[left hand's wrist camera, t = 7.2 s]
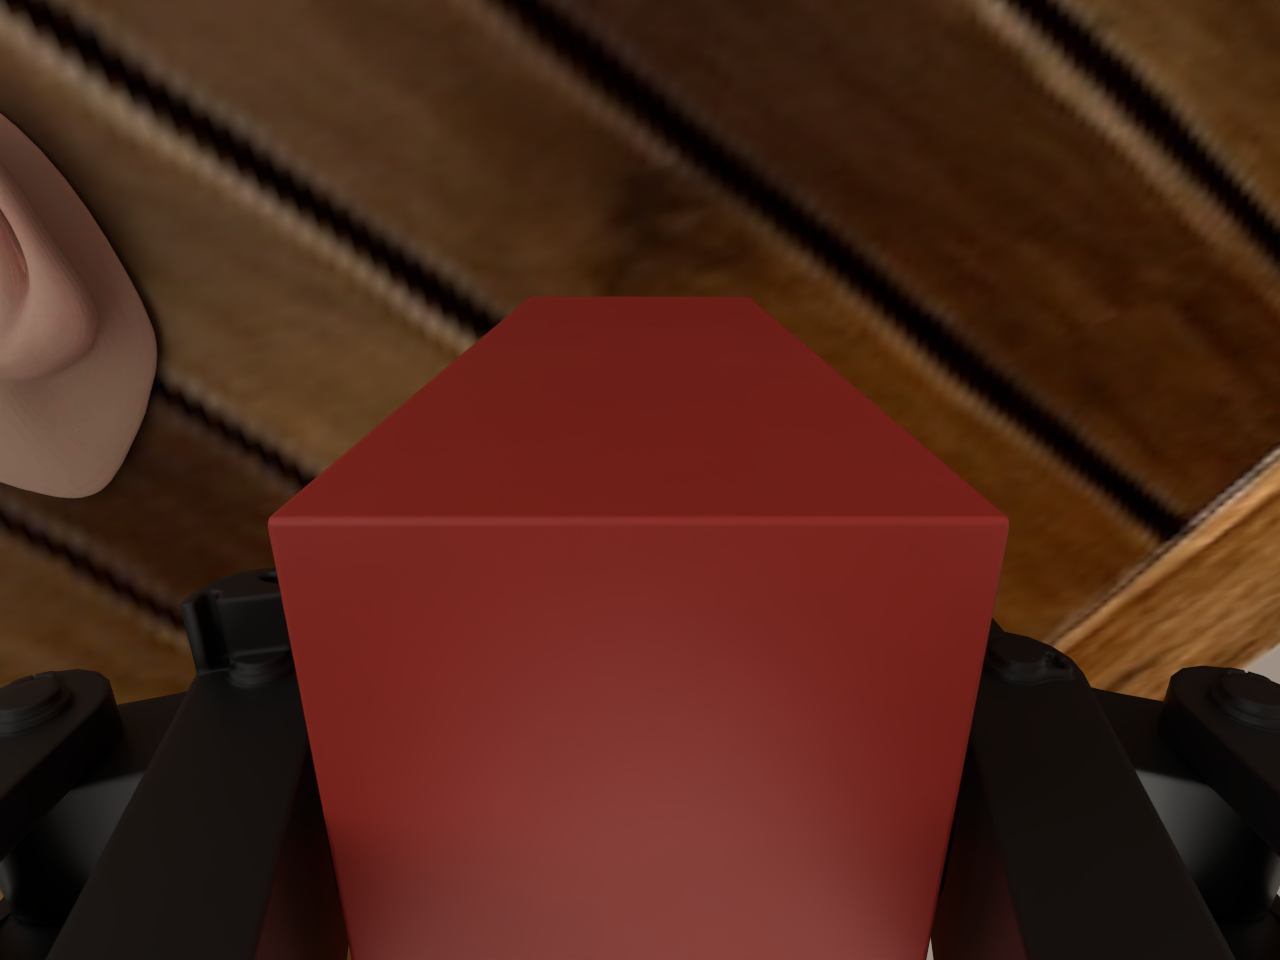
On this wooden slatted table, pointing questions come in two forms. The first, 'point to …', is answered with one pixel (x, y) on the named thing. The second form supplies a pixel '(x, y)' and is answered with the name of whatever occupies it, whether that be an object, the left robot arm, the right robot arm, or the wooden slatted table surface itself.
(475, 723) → the brick
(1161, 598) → the wooden slatted table surface
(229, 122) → the wooden slatted table surface
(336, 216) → the wooden slatted table surface
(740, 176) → the wooden slatted table surface
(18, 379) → the anatomical model
